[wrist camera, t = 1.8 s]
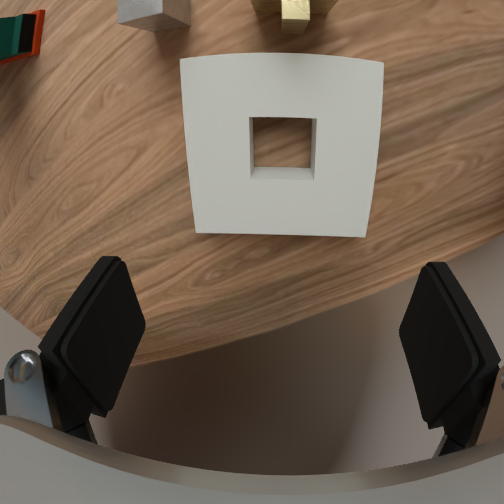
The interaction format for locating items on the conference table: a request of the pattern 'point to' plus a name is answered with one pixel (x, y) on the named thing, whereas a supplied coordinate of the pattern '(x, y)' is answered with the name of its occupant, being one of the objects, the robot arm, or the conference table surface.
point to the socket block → (281, 178)
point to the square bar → (154, 14)
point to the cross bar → (294, 12)
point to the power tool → (20, 36)
